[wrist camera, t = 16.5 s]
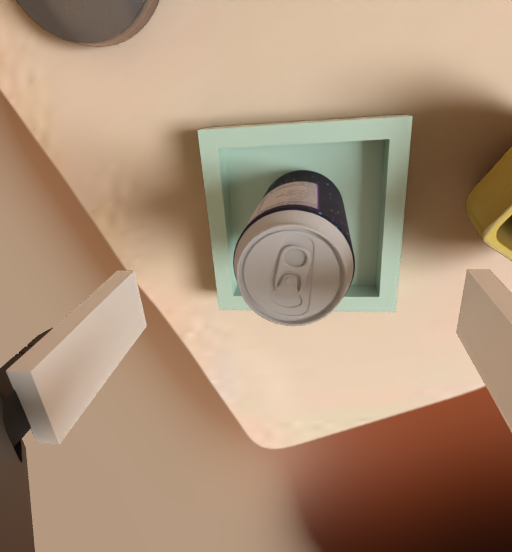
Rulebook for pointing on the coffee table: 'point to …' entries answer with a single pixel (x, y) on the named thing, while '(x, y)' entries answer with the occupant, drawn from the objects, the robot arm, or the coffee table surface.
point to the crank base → (91, 18)
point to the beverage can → (296, 251)
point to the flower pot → (494, 206)
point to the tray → (332, 164)
